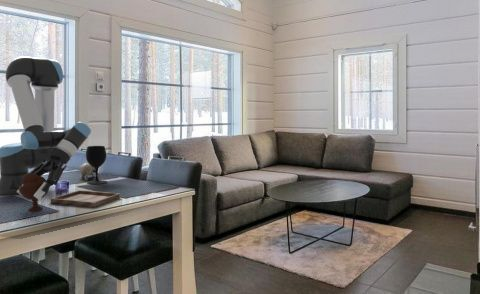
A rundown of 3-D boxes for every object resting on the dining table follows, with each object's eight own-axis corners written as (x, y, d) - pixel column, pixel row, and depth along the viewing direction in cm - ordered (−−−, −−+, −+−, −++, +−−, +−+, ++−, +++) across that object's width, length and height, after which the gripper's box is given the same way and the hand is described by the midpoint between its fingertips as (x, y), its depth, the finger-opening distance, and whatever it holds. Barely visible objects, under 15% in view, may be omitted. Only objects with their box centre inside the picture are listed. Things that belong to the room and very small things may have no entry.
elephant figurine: (71, 176, 208) (80, 153, 216) (79, 186, 220) (87, 164, 228) (85, 178, 208) (93, 154, 216) (92, 188, 220) (99, 165, 228)
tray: (50, 203, 160) (50, 198, 159) (79, 194, 177) (79, 190, 177) (94, 207, 153) (94, 202, 153) (120, 198, 171) (120, 193, 170)
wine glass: (100, 185, 200) (99, 147, 198) (82, 184, 202) (81, 147, 200) (110, 181, 210) (109, 145, 208) (93, 180, 212) (92, 145, 210)
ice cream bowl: (30, 215, 142) (28, 176, 141) (14, 210, 148) (12, 173, 146) (56, 209, 151) (55, 172, 150) (40, 205, 157) (38, 169, 155)
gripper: (86, 160, 155) (52, 205, 143) (52, 156, 167) (18, 197, 155) (74, 148, 150) (38, 194, 138) (40, 145, 162) (4, 186, 150)
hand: (27, 195), depth 146 cm, fingers closed on ice cream bowl, 11 cm apart
